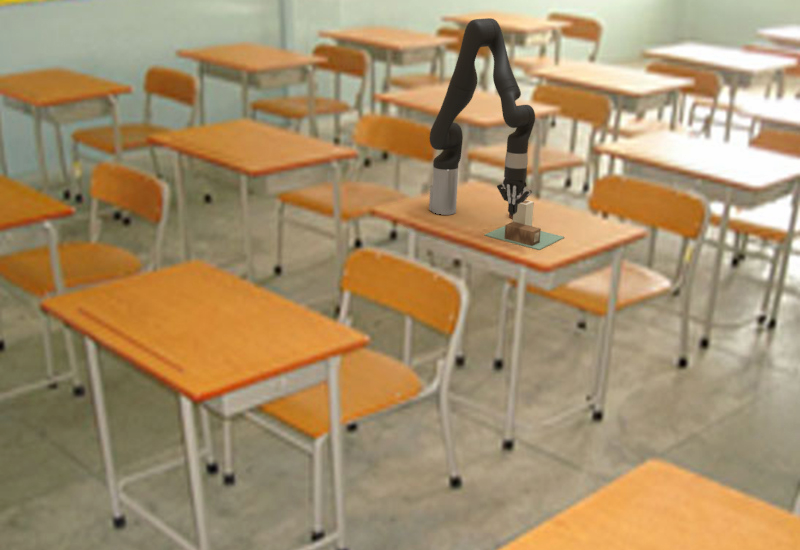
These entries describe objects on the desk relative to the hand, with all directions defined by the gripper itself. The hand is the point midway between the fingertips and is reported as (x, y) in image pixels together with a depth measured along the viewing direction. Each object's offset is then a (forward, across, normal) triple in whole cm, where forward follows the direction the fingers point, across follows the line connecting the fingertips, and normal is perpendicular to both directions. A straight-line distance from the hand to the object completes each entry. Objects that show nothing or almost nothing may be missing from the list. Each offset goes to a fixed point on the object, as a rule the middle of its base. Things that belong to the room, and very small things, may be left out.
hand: (512, 213), depth 336 cm
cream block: (+9, 0, +8) cm, 12 cm away
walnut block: (+6, -1, 0) cm, 6 cm away
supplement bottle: (+9, -11, +22) cm, 26 cm away
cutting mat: (+9, +2, +5) cm, 11 cm away
